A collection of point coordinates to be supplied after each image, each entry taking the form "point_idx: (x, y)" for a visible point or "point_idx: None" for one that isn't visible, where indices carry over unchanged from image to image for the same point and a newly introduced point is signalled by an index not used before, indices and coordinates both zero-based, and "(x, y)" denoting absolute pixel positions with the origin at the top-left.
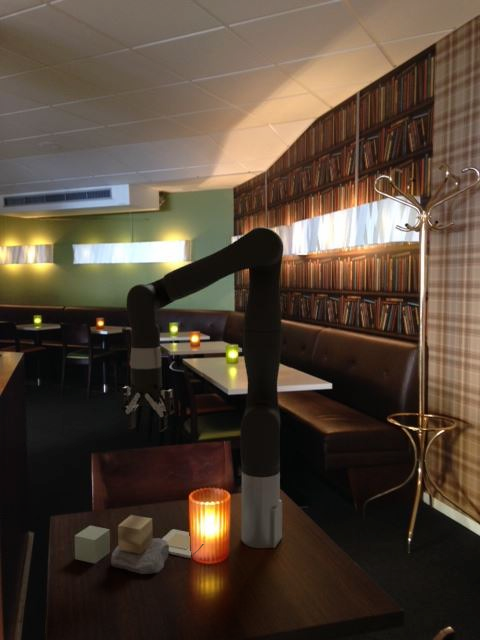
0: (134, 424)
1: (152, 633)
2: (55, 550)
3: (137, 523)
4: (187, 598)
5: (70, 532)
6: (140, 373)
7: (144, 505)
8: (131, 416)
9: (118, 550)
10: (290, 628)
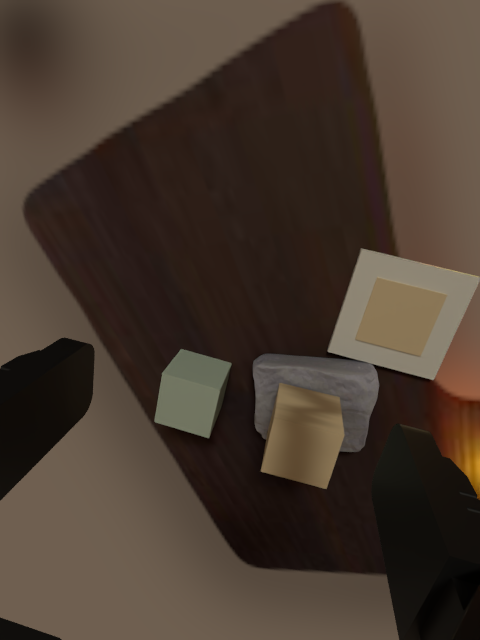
0: (77, 369)
1: None
2: (116, 365)
3: (309, 462)
4: None
5: (100, 286)
6: None
7: (220, 69)
8: (7, 478)
9: (265, 421)
10: None
